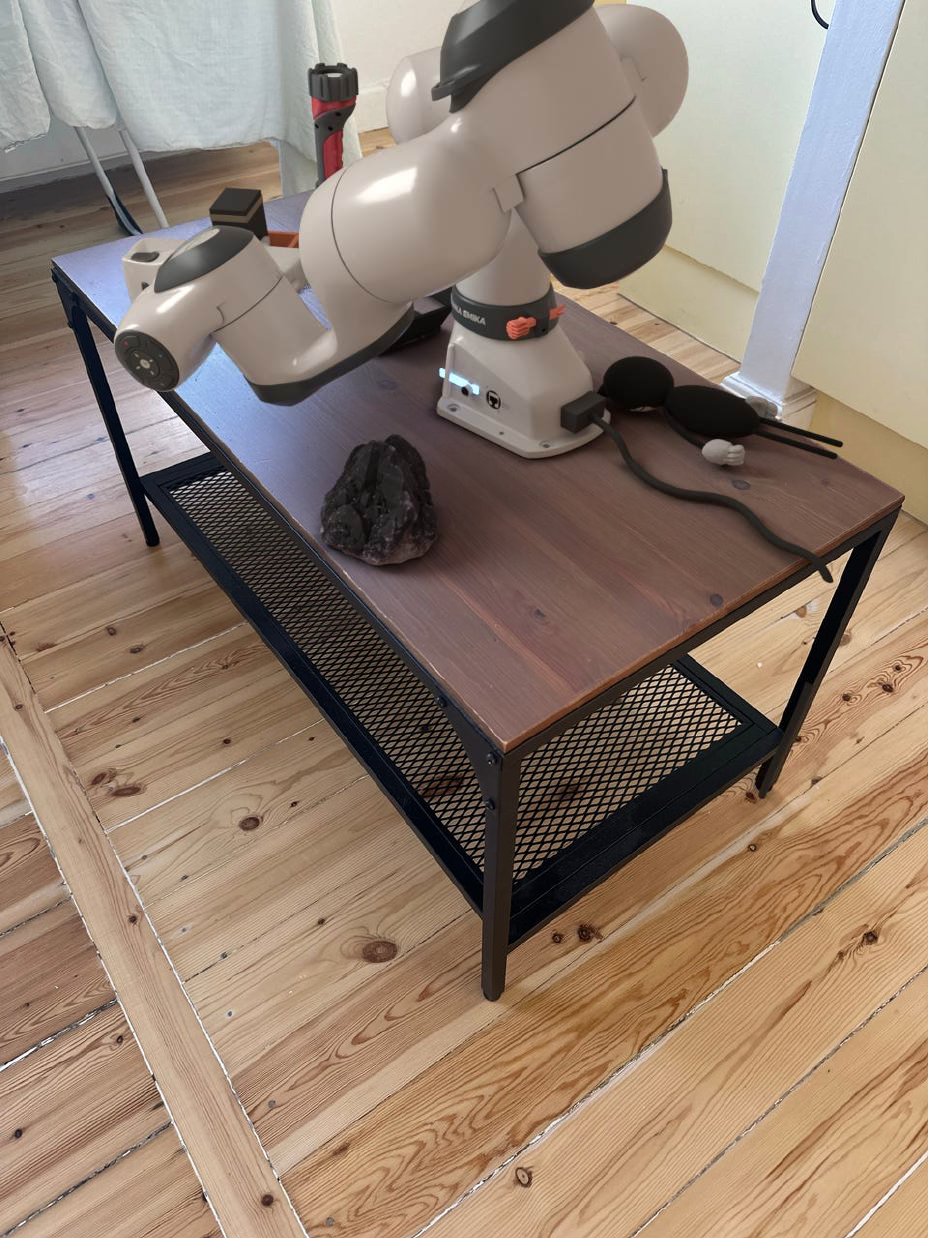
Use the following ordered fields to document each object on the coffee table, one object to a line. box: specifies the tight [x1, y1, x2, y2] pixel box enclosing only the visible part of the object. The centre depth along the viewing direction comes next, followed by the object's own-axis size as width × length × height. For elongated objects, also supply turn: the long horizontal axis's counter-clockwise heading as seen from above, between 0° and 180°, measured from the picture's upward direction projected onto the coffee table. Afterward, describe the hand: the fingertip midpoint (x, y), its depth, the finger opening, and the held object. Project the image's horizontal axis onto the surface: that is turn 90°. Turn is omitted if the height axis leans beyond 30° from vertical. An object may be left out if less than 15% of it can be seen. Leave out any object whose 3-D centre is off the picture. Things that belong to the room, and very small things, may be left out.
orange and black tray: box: [268, 230, 299, 248], centre depth 141 cm, size 11×14×4 cm
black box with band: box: [208, 187, 269, 236], centre depth 112 cm, size 4×6×10 cm
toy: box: [595, 355, 844, 467], centre depth 110 cm, size 13×8×30 cm
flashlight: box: [307, 61, 360, 190], centre depth 147 cm, size 8×8×23 cm
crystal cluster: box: [319, 433, 439, 566], centre depth 95 cm, size 13×14×10 cm
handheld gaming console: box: [378, 304, 452, 356], centre depth 125 cm, size 12×7×10 cm
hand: (240, 239), depth 112 cm, fingers closed on black box with band, 4 cm apart
